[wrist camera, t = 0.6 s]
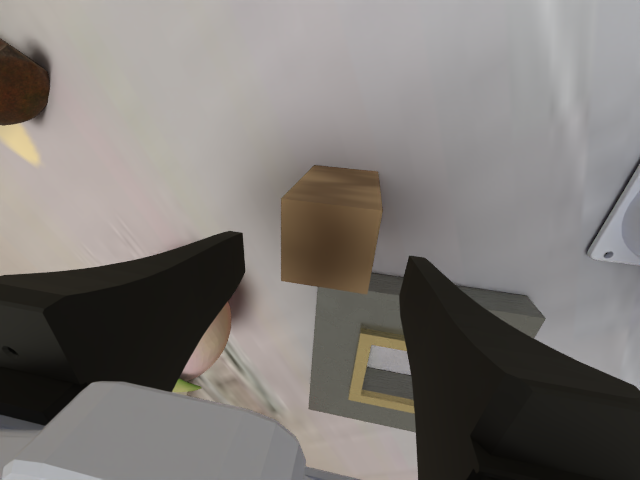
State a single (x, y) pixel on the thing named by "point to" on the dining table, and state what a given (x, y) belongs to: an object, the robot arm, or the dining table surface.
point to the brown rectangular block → (331, 228)
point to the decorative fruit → (206, 350)
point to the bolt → (20, 86)
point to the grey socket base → (382, 330)
